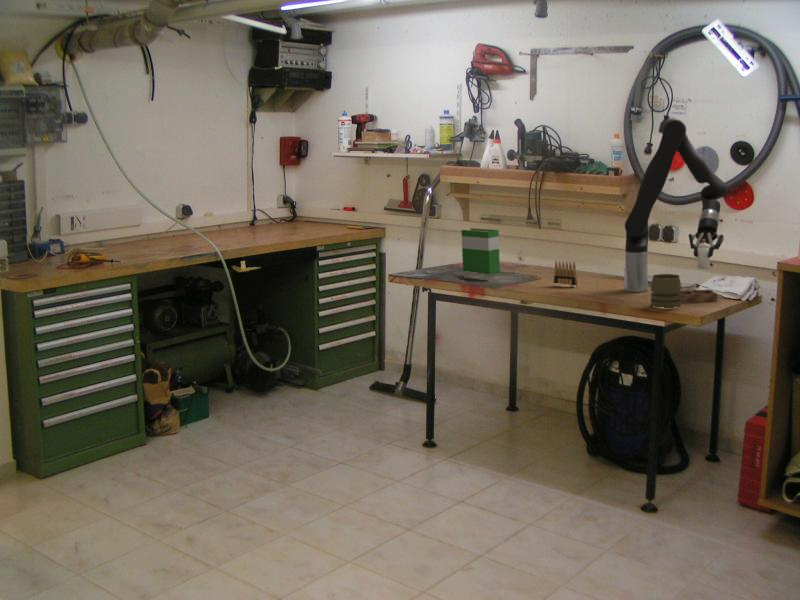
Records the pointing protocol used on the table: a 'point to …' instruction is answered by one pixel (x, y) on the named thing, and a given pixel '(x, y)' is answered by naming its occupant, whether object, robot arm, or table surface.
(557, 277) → the ammunition clip
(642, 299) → the table surface
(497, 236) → the green box
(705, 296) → the wooden compartment tray
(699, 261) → the glue bottle
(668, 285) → the olive green pot
